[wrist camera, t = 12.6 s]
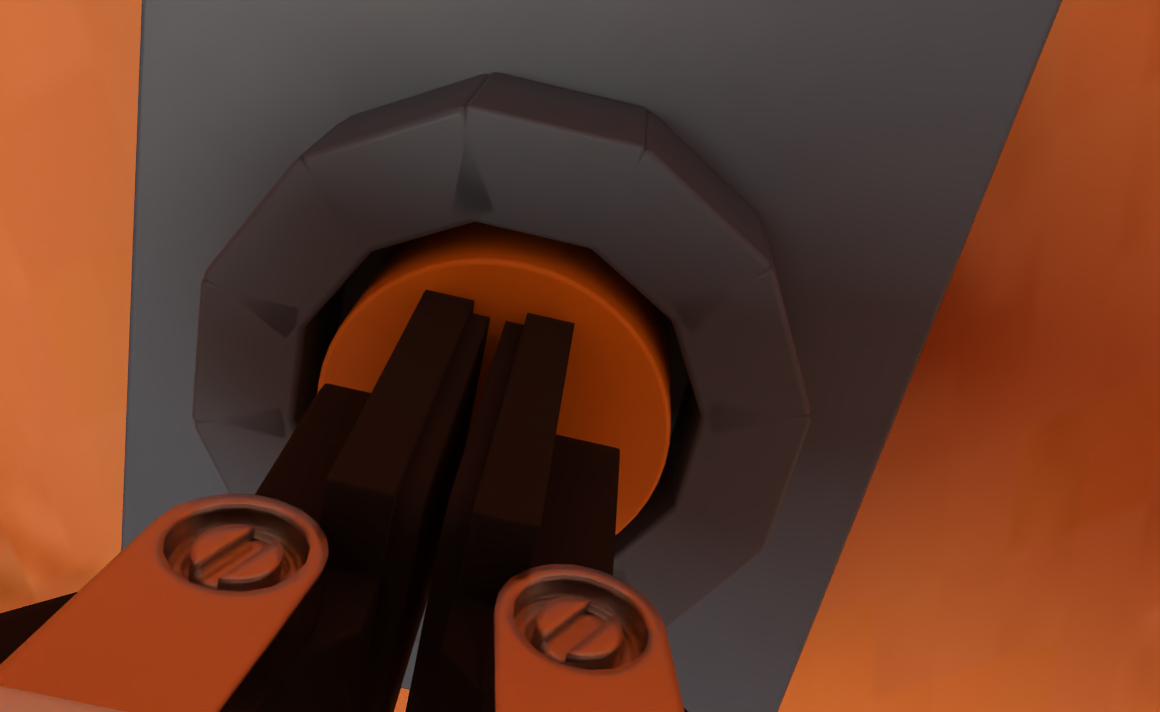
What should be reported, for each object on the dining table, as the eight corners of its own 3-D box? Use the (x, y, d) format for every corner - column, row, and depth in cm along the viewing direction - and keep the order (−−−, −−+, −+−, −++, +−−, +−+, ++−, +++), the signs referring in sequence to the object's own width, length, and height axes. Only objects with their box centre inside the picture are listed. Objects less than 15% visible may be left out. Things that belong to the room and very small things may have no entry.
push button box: (1018, -55, 13) (1151, -22, 10) (746, 669, 18) (767, 867, 15) (226, -249, 13) (60, -289, 9) (175, 543, 18) (55, 714, 15)
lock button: (706, 251, 13) (713, 307, 11) (628, 523, 14) (624, 605, 13) (378, 174, 13) (337, 220, 11) (338, 458, 14) (298, 532, 13)
